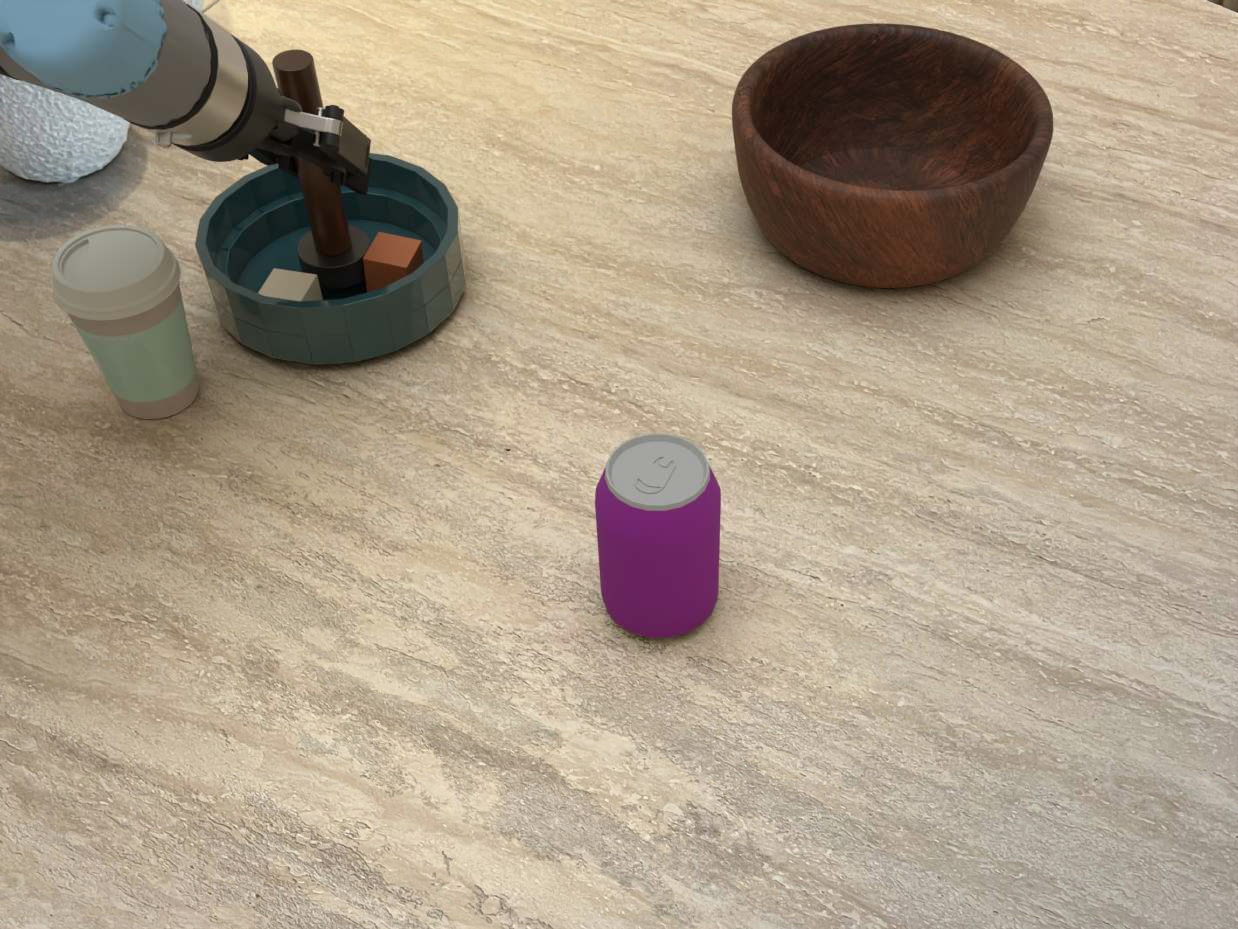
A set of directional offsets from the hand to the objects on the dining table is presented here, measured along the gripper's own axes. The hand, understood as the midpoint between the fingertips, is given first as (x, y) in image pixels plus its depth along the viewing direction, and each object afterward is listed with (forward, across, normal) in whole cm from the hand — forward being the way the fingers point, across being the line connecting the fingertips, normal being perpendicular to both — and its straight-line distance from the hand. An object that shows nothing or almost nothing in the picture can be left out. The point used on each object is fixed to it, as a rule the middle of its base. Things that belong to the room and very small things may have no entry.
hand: (342, 172), depth 111 cm
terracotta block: (+2, +4, -8) cm, 9 cm away
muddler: (+1, 0, -7) cm, 7 cm away
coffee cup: (-7, -9, -19) cm, 22 cm away
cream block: (-1, -2, -12) cm, 12 cm away
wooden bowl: (+16, +40, +5) cm, 43 cm away
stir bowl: (+3, 0, -8) cm, 9 cm away
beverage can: (-15, +32, -27) cm, 44 cm away
